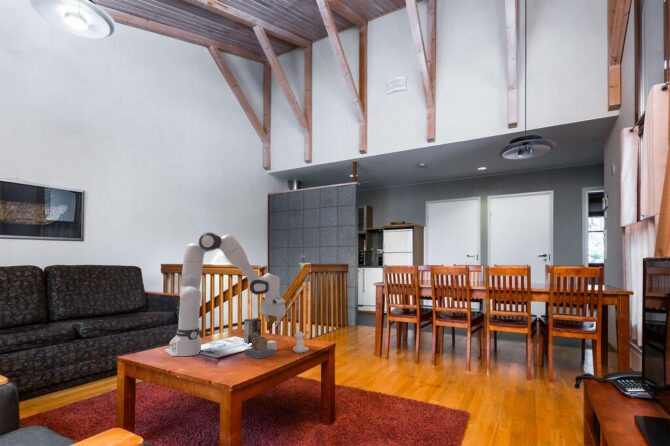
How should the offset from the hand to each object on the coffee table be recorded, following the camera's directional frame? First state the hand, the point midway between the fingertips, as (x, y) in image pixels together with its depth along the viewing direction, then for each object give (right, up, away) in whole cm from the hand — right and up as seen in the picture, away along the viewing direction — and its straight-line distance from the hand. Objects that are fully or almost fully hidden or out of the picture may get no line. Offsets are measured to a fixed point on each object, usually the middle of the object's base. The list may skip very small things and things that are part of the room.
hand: (271, 322), depth 227 cm
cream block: (0, -16, -1) cm, 16 cm away
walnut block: (-5, -12, -11) cm, 17 cm away
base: (-5, -15, -12) cm, 20 cm away
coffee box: (-14, -17, +10) cm, 25 cm away
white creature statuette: (+18, -17, -5) cm, 25 cm away
